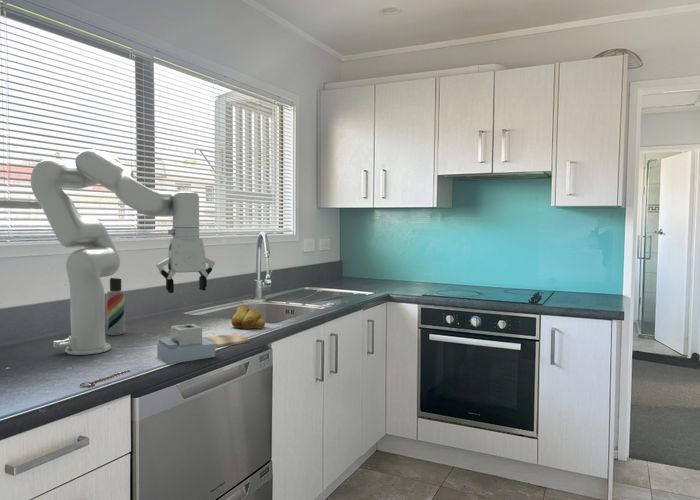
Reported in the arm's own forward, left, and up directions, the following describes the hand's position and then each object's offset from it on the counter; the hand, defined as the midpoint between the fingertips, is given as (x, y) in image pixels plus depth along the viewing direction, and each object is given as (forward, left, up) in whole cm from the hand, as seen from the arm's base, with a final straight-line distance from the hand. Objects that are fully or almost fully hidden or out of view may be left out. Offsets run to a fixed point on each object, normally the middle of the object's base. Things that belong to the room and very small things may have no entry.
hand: (186, 291), depth 157 cm
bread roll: (+34, +28, -20) cm, 49 cm away
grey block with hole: (0, 0, -16) cm, 16 cm away
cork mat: (+18, +12, -20) cm, 29 cm away
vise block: (0, 0, -20) cm, 20 cm away
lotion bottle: (-9, +44, -20) cm, 49 cm away
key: (-25, -9, -20) cm, 34 cm away
